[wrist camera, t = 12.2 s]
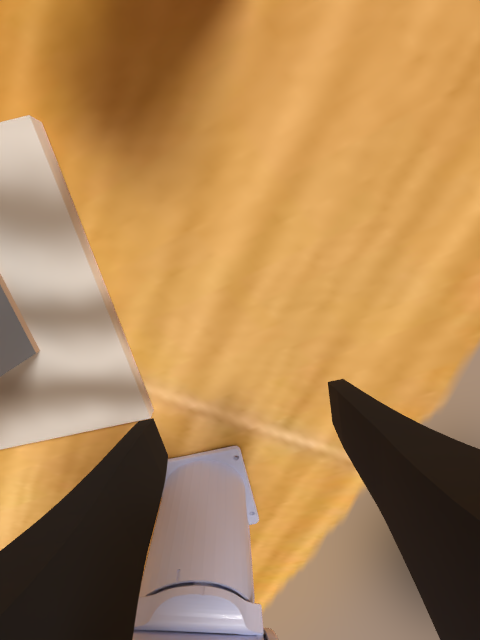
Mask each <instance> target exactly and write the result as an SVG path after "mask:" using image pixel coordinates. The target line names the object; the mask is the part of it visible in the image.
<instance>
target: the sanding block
mask: <svg viewBox="0 0 480 640" xmlns="http://www.w3.org/2000/svg"><path fill="white" fill-rule="evenodd" d="M39 351H40V350H39V348H38V346H37V344H36V342H35V340H34V338H33V336H32V334H31V332H30V330H29V328H28V326H27V324H26V322H25V320H24V318H23V317H22V315H21V313H20V311H19V309H18V307H17V305H16V303H15V301H14V299H13V297H12V295H11V293H10V291H9V289H8V287H7V285H6V283H5V282H4V280H3V278H2V276H1V274H0V377H1V376H2V375H4V374H5V373H7V372H8V371H10V370H11V369H13V368H14V367H16V366H17V365H19V364H21V363H22V362H24V361H25V360H27V359H28V358H30V357H31V356H33V355H34V354H36V353H37V352H39Z"/></svg>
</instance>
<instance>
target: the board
mask: <svg viewBox="0 0 480 640" xmlns="http://www.w3.org/2000/svg"><path fill="white" fill-rule="evenodd" d="M0 274H1V276H2V278H3V280H4V282H5V283H6V285H7V287H8V289H9V291H10V293H11V295H12V297H13V299H14V301H15V303H16V305H17V307H18V309H19V311H20V313H21V315H22V317H23V318H24V320H25V322H26V324H27V326H28V328H29V330H30V332H31V334H32V336H33V338H34V340H35V342H36V344H37V346H38V348H39V350H40V351H39V352H37V353H36V354H34V355H33V356H31V357H30V358H28V359H27V360H25V361H24V362H22V363H21V364H19V365H17V366H16V367H14V368H13V369H11V370H10V371H8V372H7V373H5V374H4V375H2V376H1V377H0V449H5V448H10V447H15V446H19V445H24V444H29V443H34V442H39V441H44V440H48V439H53V438H58V437H63V436H68V435H72V434H77V433H82V432H87V431H92V430H96V429H101V428H106V427H111V426H116V425H121V424H125V423H130V422H135V421H140V420H145V419H149V418H151V416H152V413H153V411H154V409H153V406H152V404H151V401H150V399H149V396H148V393H147V391H146V388H145V386H144V383H143V381H142V378H141V375H140V373H139V370H138V368H137V365H136V363H135V360H134V357H133V355H132V352H131V350H130V347H129V345H128V342H127V339H126V337H125V334H124V332H123V329H122V327H121V324H120V322H119V319H118V316H117V314H116V311H115V309H114V306H113V304H112V301H111V298H110V296H109V293H108V291H107V288H106V286H105V283H104V280H103V278H102V275H101V273H100V270H99V268H98V265H97V262H96V260H95V257H94V255H93V252H92V250H91V247H90V245H89V242H88V239H87V237H86V234H85V232H84V229H83V227H82V224H81V221H80V219H79V216H78V214H77V211H76V209H75V206H74V203H73V201H72V198H71V196H70V193H69V191H68V188H67V186H66V183H65V180H64V178H63V175H62V173H61V170H60V168H59V165H58V162H57V160H56V157H55V155H54V152H53V150H52V147H51V144H50V142H49V139H48V137H47V134H46V132H45V129H44V126H43V124H42V122H40V121H39V120H37V119H35V118H33V117H32V116H30V115H28V116H24V117H20V118H16V119H11V120H7V121H3V122H0Z"/></svg>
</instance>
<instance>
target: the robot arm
mask: <svg viewBox="0 0 480 640" xmlns="http://www.w3.org/2000/svg"><path fill="white" fill-rule="evenodd" d="M328 388H329V396H330V405H331V413H332V422H333V425H334V427H335V430H336V432H337V434H338V437H339V439H340V441H341V443H342V445H343V448H344V449H345V451H346V453H347V455H348V456H349V458H350V460H351V461H352V463H353V465H354V467H355V468H356V470H357V472H358V473H359V475H360V477H361V478H362V480H363V482H364V484H365V485H366V487H367V489H368V490H369V492H370V494H371V495H372V497H373V499H374V501H375V502H376V504H377V506H378V507H379V509H380V511H381V513H382V515H383V517H384V519H385V521H386V523H387V525H388V527H389V529H390V531H391V533H392V535H393V537H394V540H395V542H396V544H397V546H398V548H399V550H400V552H401V554H402V556H403V559H404V561H405V563H406V565H407V567H408V569H409V571H410V574H411V576H412V578H413V580H414V582H415V584H416V586H417V589H418V591H419V593H420V595H421V598H422V599H423V602H424V604H425V606H426V609H427V611H428V613H429V615H430V618H431V619H432V622H433V624H434V626H435V629H436V631H437V633H438V635H439V638H440V640H480V449H477V448H475V447H472V446H470V445H467V444H465V443H462V442H460V441H457V440H455V439H452V438H450V437H448V436H446V435H443V434H441V433H439V432H436V431H434V430H432V429H429V428H428V427H426V426H423V425H422V424H419V423H417V422H416V421H414V420H412V419H410V418H408V417H406V416H404V415H402V414H400V413H398V412H397V411H395V410H393V409H391V408H389V407H388V406H386V405H384V404H382V403H381V402H379V401H377V400H376V399H374V398H372V397H371V396H369V395H368V394H366V393H364V392H363V391H361V390H360V389H358V388H356V387H355V386H353V385H352V384H350V383H349V382H347V381H345V380H344V379H341V380H336V381H331V382H328ZM235 456H237V457H235ZM161 497H162V500H161ZM160 501H161V504H160ZM159 504H160V508H159ZM158 508H159V513H158V517H157V521H156V525H155V529H154V533H153V537H152V541H151V545H150V549H149V554H148V558H147V562H146V566H145V570H144V565H145V560H146V556H147V551H148V547H149V543H150V539H151V535H152V531H153V528H154V524H155V520H156V516H157V512H158ZM258 521H259V515H258V512H257V508H256V504H255V501H254V497H253V494H252V490H251V486H250V483H249V479H248V475H247V472H246V468H245V464H244V461H243V457H242V453H241V450H240V448H239V447H238V446H231V447H226V448H221V449H216V450H211V451H206V452H201V453H196V454H192V455H187V456H182V457H177V458H172V459H168V454H167V452H166V449H165V447H164V444H163V442H162V439H161V437H160V434H159V432H158V429H157V427H156V424H155V422H154V419H148V420H143V421H139V422H138V423H137V424H136V425H135V426H134V427H133V428H132V429H131V430H130V431H129V432H128V433H127V434H126V435H125V436H124V437H123V438H122V439H121V440H120V441H119V442H118V444H117V445H116V446H115V447H114V448H113V449H112V450H111V451H110V452H109V453H108V454H107V455H106V456H105V457H104V459H103V460H102V461H101V462H100V463H99V464H98V465H97V466H96V467H95V468H94V469H93V470H92V471H91V472H90V473H89V474H88V475H87V476H86V477H85V478H84V479H83V480H82V481H81V482H80V483H79V484H78V485H77V486H76V487H75V488H74V489H73V490H72V491H71V492H70V493H69V494H68V495H66V496H65V497H64V498H63V499H62V500H61V501H60V502H59V503H58V504H57V505H55V506H54V507H53V508H52V509H51V510H50V511H49V512H48V513H46V514H45V515H44V516H43V517H42V518H41V519H39V520H38V521H37V522H36V523H35V524H33V525H32V526H31V527H30V528H28V529H27V530H26V531H25V532H23V533H22V534H21V535H20V536H19V537H17V538H16V539H15V540H14V541H12V542H11V543H10V544H9V545H7V546H6V547H5V548H4V549H2V550H1V551H0V640H278V638H277V636H276V634H275V632H274V631H273V630H272V629H269V628H263V621H262V609H261V605H260V604H257V603H254V586H253V572H252V558H251V544H250V530H249V525H251V524H256V523H257V522H258ZM143 570H144V574H143ZM142 576H143V578H142Z"/></svg>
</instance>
